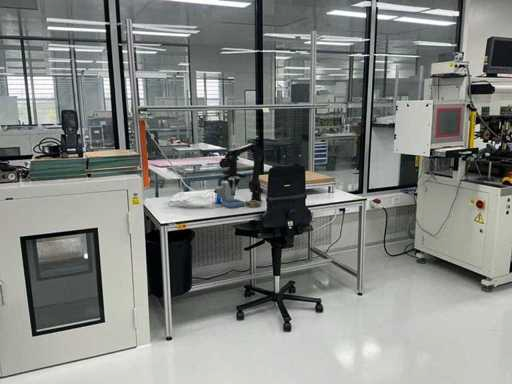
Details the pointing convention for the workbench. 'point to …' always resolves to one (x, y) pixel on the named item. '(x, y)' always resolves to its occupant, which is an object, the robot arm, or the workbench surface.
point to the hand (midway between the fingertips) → (233, 188)
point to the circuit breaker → (224, 191)
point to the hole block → (252, 203)
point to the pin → (233, 188)
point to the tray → (233, 203)
